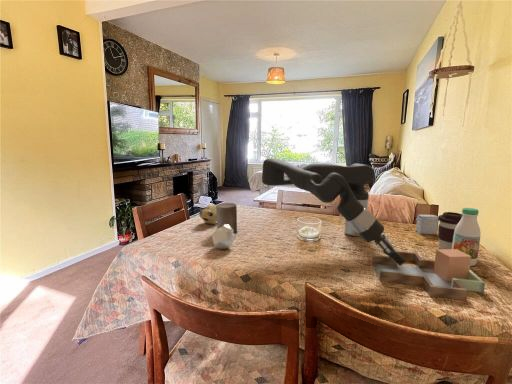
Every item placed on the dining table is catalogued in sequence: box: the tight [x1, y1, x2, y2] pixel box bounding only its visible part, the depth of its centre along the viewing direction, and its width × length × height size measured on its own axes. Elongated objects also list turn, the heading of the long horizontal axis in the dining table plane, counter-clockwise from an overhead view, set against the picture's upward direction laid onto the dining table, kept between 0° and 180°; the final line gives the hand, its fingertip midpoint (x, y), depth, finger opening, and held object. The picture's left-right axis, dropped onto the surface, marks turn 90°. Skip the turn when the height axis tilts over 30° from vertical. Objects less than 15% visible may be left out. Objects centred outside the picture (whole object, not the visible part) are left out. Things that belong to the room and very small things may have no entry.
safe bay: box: [451, 269, 486, 294], centre depth 89 cm, size 8×14×4 cm, turn 167°
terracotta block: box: [434, 248, 472, 281], centre depth 90 cm, size 7×6×8 cm
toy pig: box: [198, 203, 217, 225], centre depth 149 cm, size 10×12×11 cm
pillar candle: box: [215, 202, 238, 235], centre depth 134 cm, size 10×10×15 cm
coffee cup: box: [437, 211, 462, 249], centre depth 113 cm, size 10×10×15 cm
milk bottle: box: [452, 207, 482, 267], centre depth 101 cm, size 8×8×20 cm
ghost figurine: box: [212, 224, 236, 250], centre depth 115 cm, size 9×10×10 cm
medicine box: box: [415, 214, 440, 235], centre depth 134 cm, size 8×4×9 cm, turn 84°
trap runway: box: [371, 250, 484, 301], centre depth 91 cm, size 28×26×4 cm
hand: (402, 263), depth 91 cm, fingers closed
